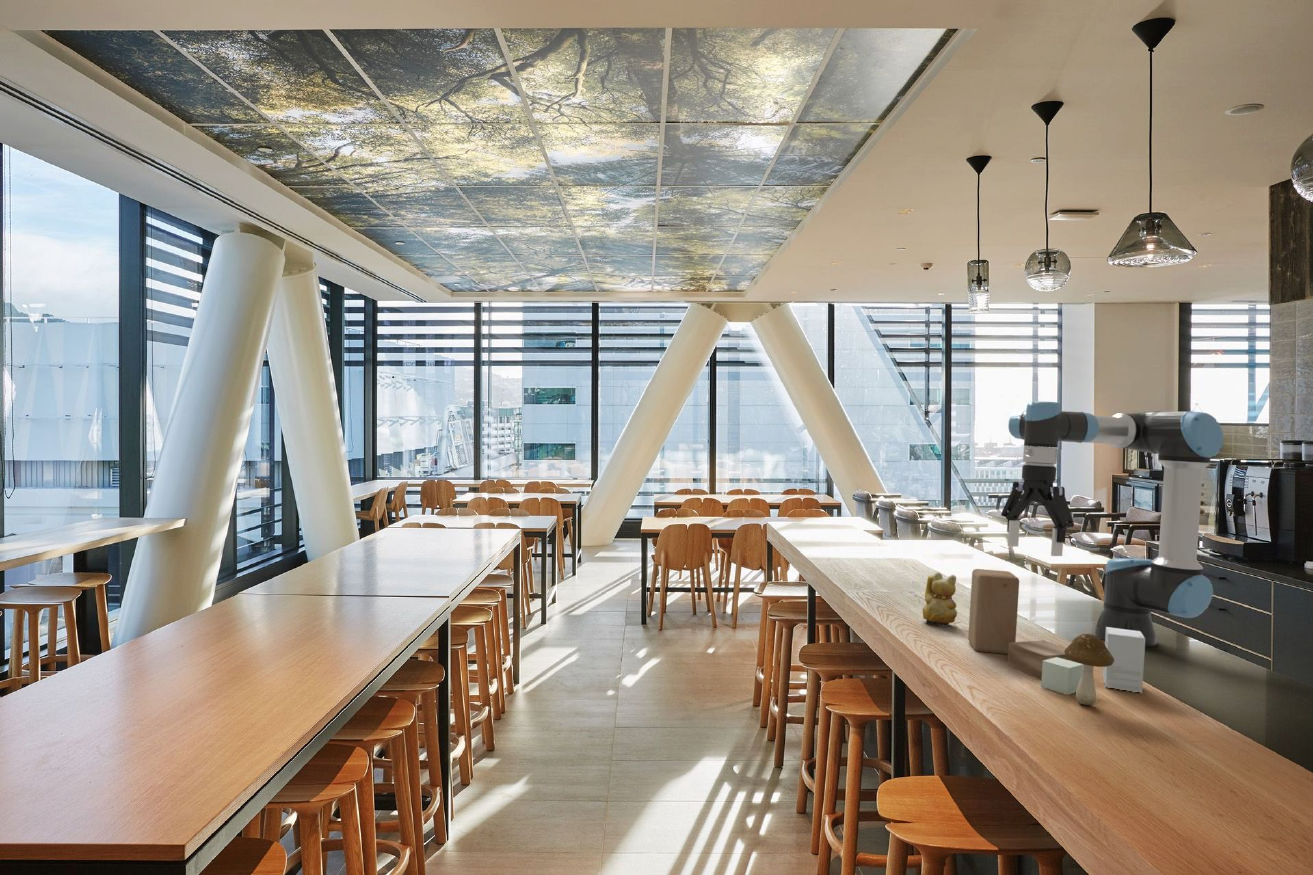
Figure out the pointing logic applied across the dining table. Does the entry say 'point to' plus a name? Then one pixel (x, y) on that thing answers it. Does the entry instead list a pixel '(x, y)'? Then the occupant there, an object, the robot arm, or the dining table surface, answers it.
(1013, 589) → the wooden block
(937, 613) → the decorative figurine
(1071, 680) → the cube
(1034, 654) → the base block
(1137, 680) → the supplement box
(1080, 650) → the mushroom
